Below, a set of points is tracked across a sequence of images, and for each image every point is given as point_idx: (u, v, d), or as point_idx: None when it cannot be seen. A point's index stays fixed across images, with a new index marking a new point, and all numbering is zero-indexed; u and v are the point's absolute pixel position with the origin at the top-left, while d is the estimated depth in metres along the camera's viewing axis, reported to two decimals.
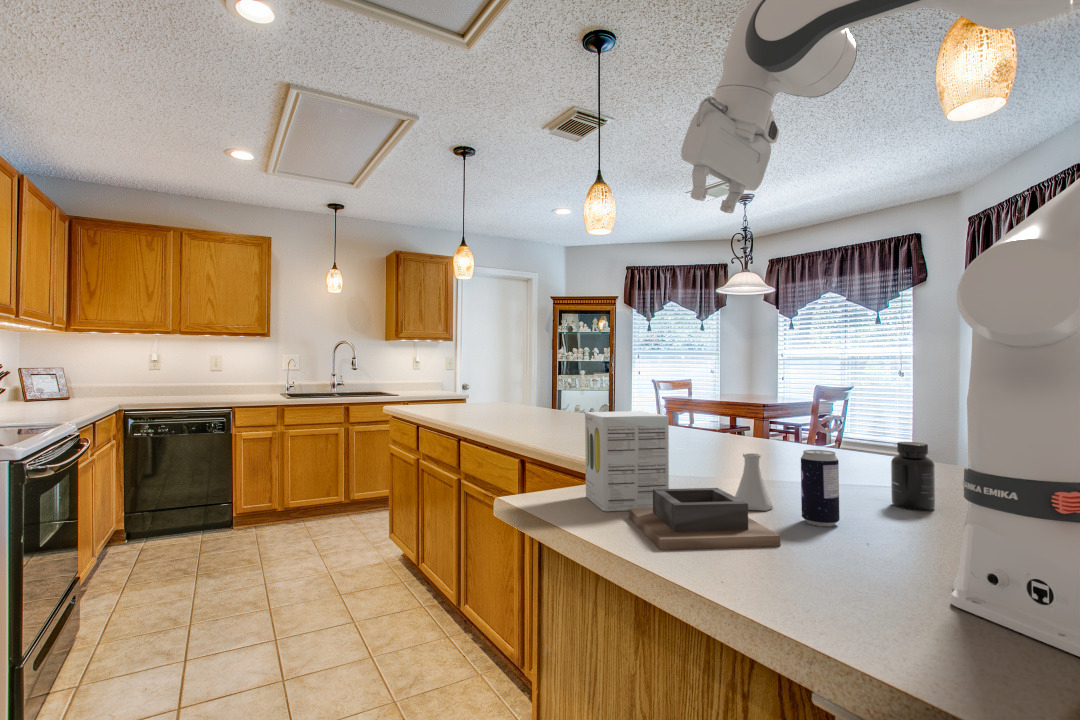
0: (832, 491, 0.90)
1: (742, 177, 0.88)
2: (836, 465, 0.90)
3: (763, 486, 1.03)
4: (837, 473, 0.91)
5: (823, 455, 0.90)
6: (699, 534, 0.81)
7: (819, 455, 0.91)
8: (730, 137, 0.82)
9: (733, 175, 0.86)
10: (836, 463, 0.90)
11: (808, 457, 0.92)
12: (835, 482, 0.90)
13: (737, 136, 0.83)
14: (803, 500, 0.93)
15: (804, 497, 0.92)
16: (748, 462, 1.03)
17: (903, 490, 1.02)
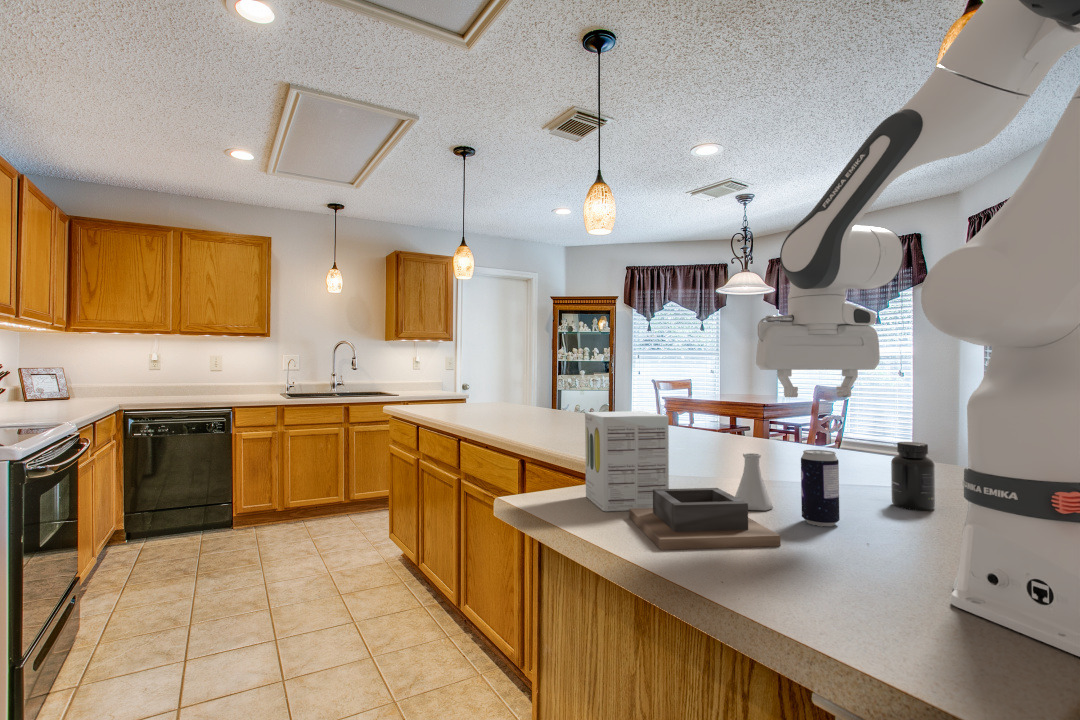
0: (832, 491, 0.90)
1: (842, 365, 0.92)
2: (836, 465, 0.90)
3: (763, 486, 1.03)
4: (837, 473, 0.91)
5: (823, 455, 0.90)
6: (699, 534, 0.81)
7: (819, 455, 0.91)
8: (805, 338, 0.91)
9: (826, 367, 0.91)
10: (836, 463, 0.90)
11: (808, 457, 0.92)
12: (835, 482, 0.90)
13: (814, 335, 0.91)
14: (803, 500, 0.93)
15: (804, 497, 0.92)
16: (748, 462, 1.03)
17: (903, 490, 1.02)
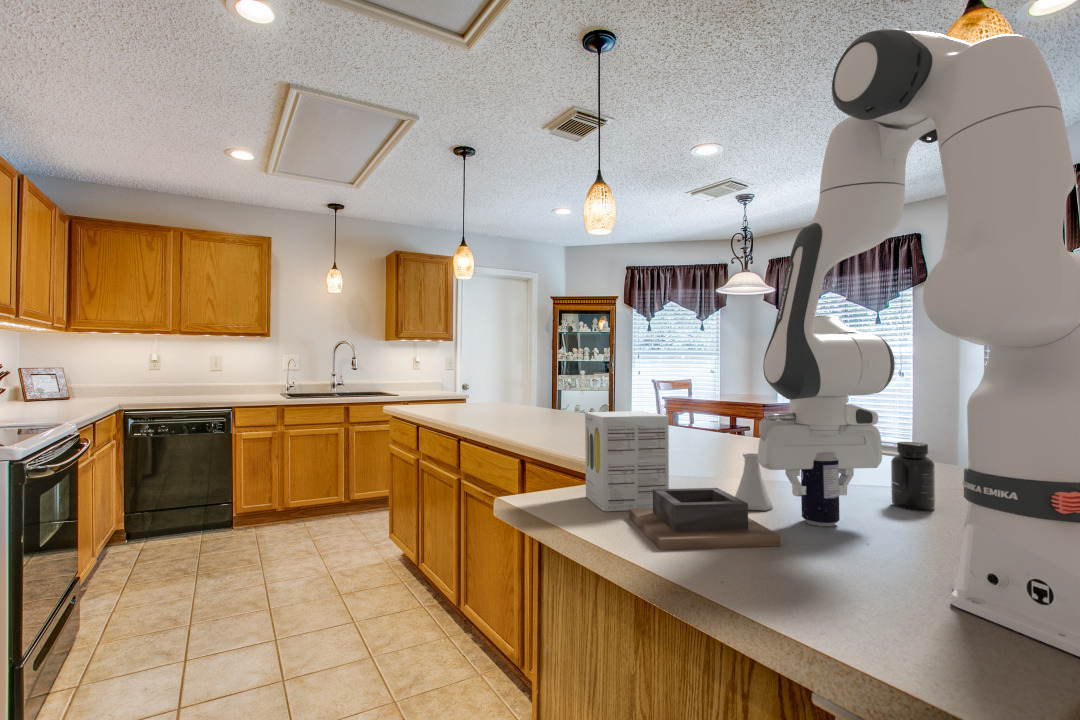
0: (832, 491, 0.90)
1: (844, 464, 0.91)
2: (836, 465, 0.90)
3: (763, 486, 1.03)
4: (837, 473, 0.91)
5: (823, 455, 0.90)
6: (699, 534, 0.81)
7: (819, 455, 0.91)
8: (807, 438, 0.91)
9: None
10: (836, 463, 0.90)
11: None
12: (835, 482, 0.90)
13: (816, 435, 0.91)
14: (803, 500, 0.93)
15: (804, 497, 0.92)
16: (748, 462, 1.03)
17: (903, 490, 1.02)
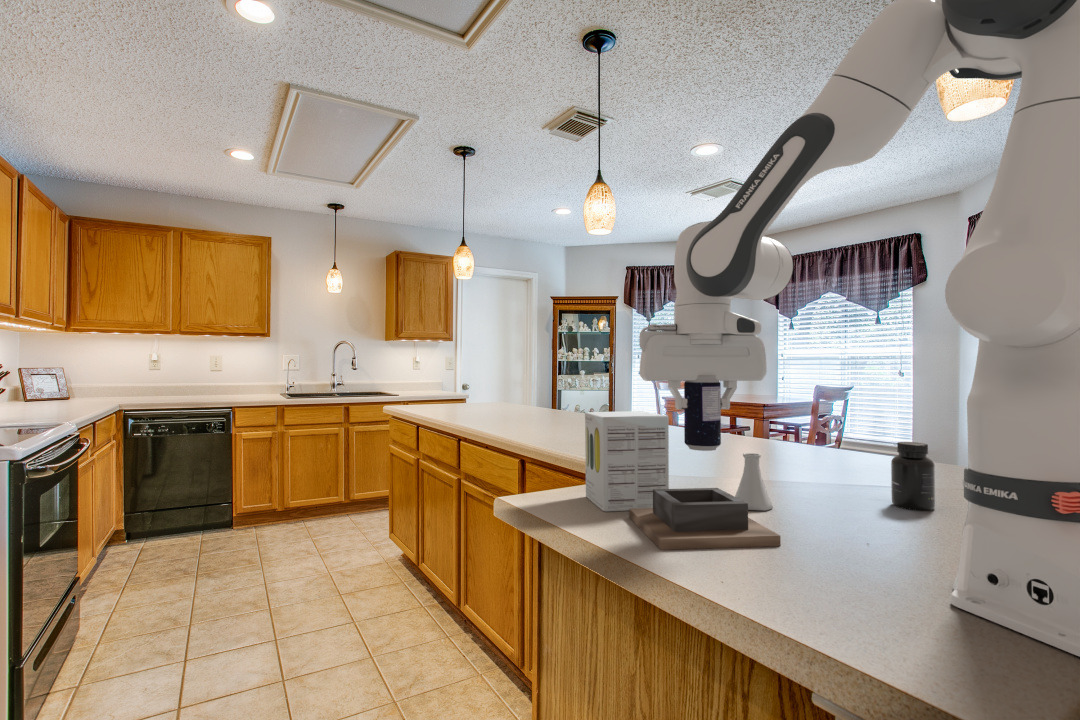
0: (711, 414, 0.87)
1: (726, 376, 0.88)
2: (716, 387, 0.87)
3: (763, 486, 1.03)
4: (717, 396, 0.88)
5: (703, 377, 0.87)
6: (699, 534, 0.81)
7: (699, 377, 0.87)
8: (687, 348, 0.88)
9: None
10: (716, 385, 0.87)
11: None
12: (715, 405, 0.87)
13: (696, 345, 0.88)
14: (685, 425, 0.90)
15: (686, 421, 0.89)
16: (748, 462, 1.03)
17: (903, 490, 1.02)
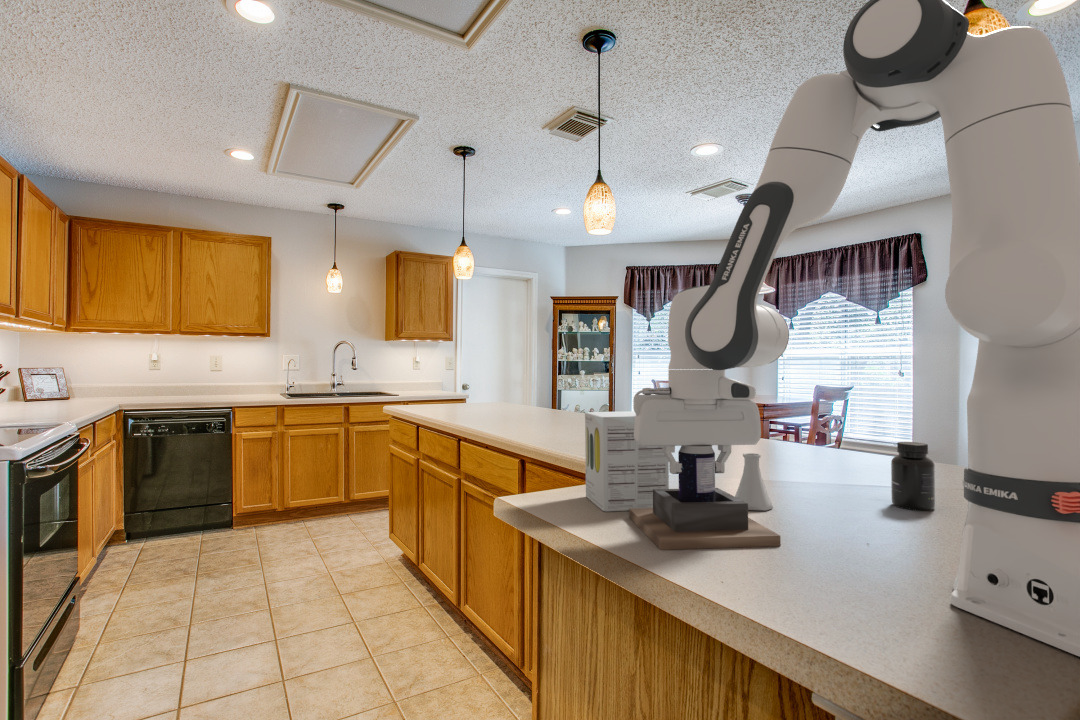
0: (705, 485, 0.86)
1: (721, 440, 0.87)
2: (711, 458, 0.87)
3: (763, 486, 1.03)
4: (712, 466, 0.87)
5: (697, 448, 0.87)
6: (699, 534, 0.81)
7: (693, 448, 0.87)
8: (681, 413, 0.87)
9: (704, 443, 0.87)
10: (711, 456, 0.87)
11: (683, 450, 0.88)
12: (709, 476, 0.86)
13: (691, 410, 0.87)
14: (679, 495, 0.89)
15: (680, 491, 0.88)
16: (748, 462, 1.03)
17: (903, 490, 1.02)
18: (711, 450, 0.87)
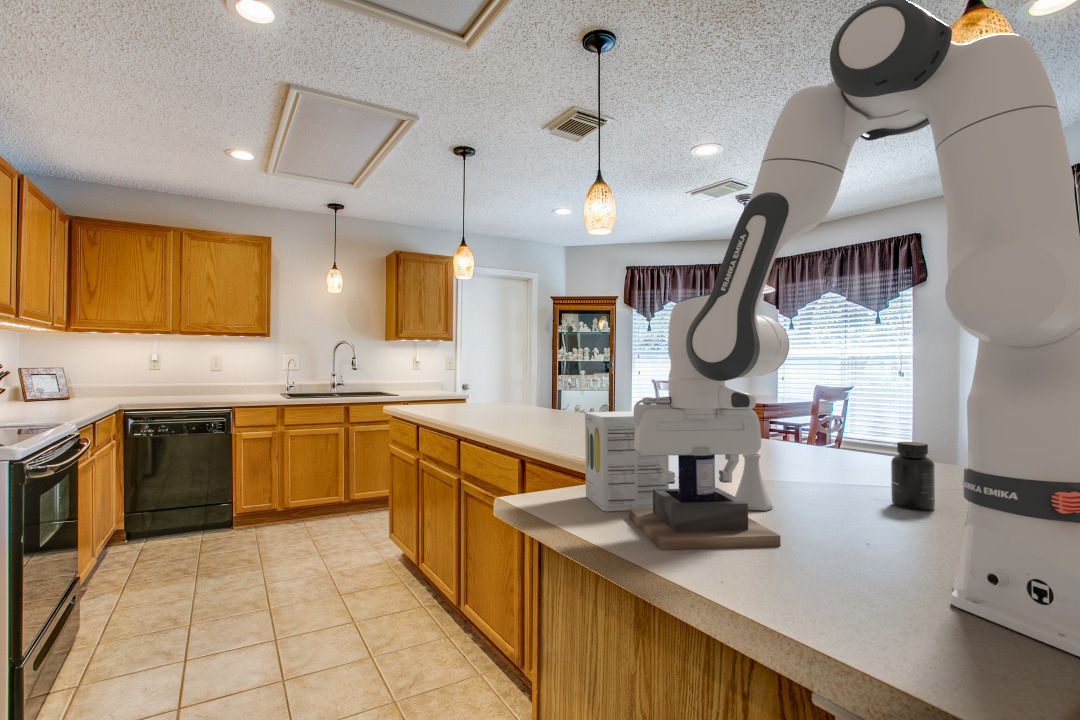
0: (705, 487, 0.86)
1: (721, 450, 0.87)
2: (710, 460, 0.87)
3: (763, 486, 1.03)
4: (712, 468, 0.87)
5: (697, 449, 0.87)
6: (699, 534, 0.81)
7: (693, 449, 0.87)
8: (682, 423, 0.87)
9: None
10: (710, 458, 0.87)
11: None
12: (709, 478, 0.86)
13: (691, 419, 0.87)
14: (679, 496, 0.89)
15: (680, 493, 0.88)
16: (748, 462, 1.03)
17: (903, 490, 1.02)
18: None
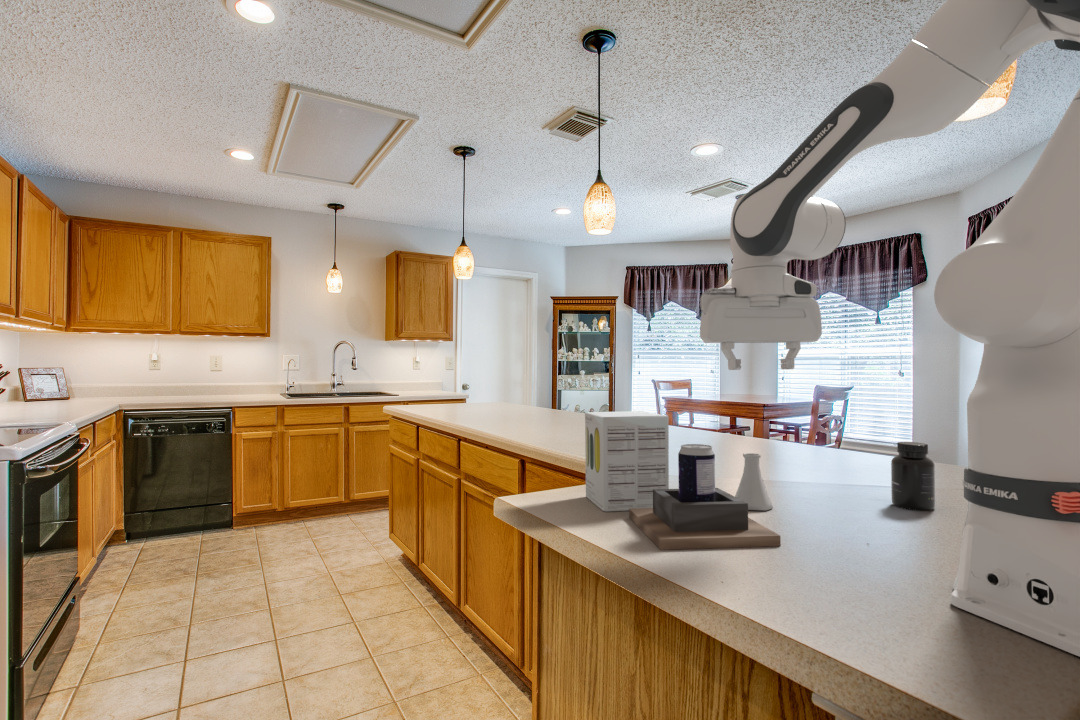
0: (705, 487, 0.86)
1: (785, 336, 0.92)
2: (710, 460, 0.87)
3: (763, 486, 1.03)
4: (712, 468, 0.87)
5: (697, 449, 0.87)
6: (699, 534, 0.81)
7: (693, 449, 0.87)
8: (747, 310, 0.91)
9: (769, 338, 0.91)
10: (710, 458, 0.87)
11: (683, 451, 0.88)
12: (709, 478, 0.86)
13: (756, 307, 0.91)
14: (679, 496, 0.89)
15: (680, 493, 0.88)
16: (748, 462, 1.03)
17: (903, 490, 1.02)
18: (711, 452, 0.87)
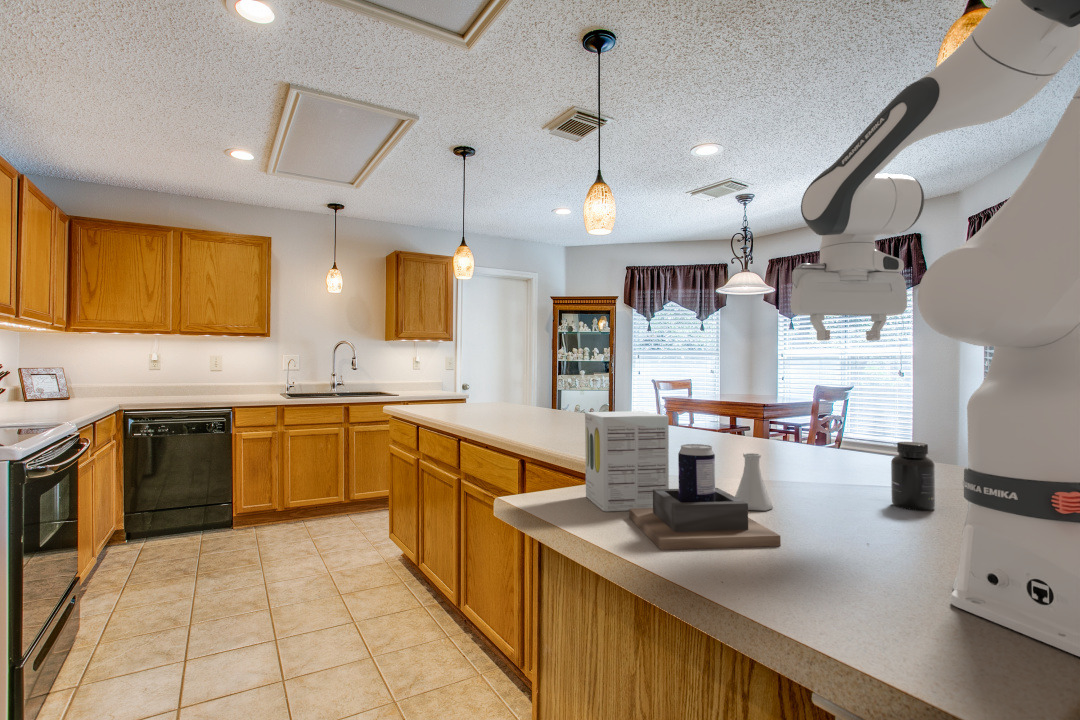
0: (705, 487, 0.86)
1: (872, 309, 0.98)
2: (710, 460, 0.87)
3: (763, 486, 1.03)
4: (712, 468, 0.87)
5: (697, 449, 0.87)
6: (699, 534, 0.81)
7: (693, 449, 0.87)
8: (837, 284, 0.97)
9: (857, 311, 0.97)
10: (710, 458, 0.87)
11: (683, 451, 0.88)
12: (709, 478, 0.86)
13: (845, 281, 0.97)
14: (679, 496, 0.89)
15: (680, 493, 0.88)
16: (748, 462, 1.03)
17: (903, 490, 1.02)
18: (711, 452, 0.87)
